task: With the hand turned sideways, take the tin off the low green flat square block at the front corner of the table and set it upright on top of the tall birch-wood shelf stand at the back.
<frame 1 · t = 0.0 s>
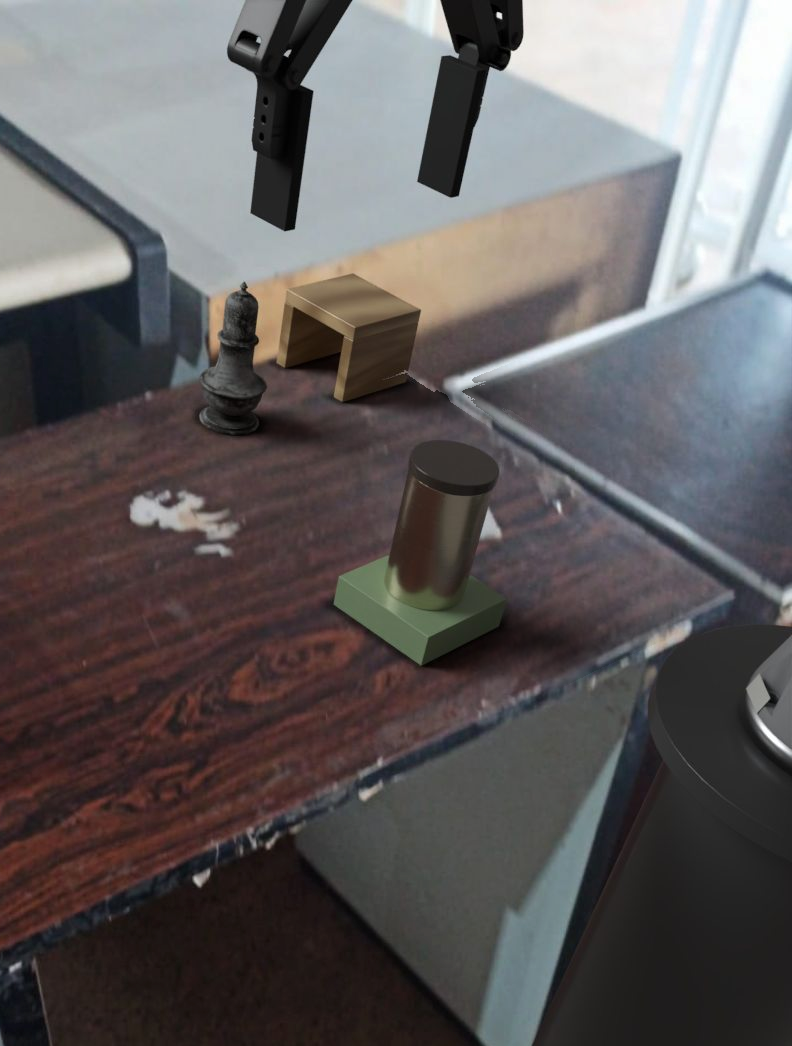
hand: (359, 205, 72), 29 cm above the table, tool pointing down, fingers open, 13 cm apart
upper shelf: (341, 372, 124), on the table
salt shaker: (228, 422, 114), on the table
green flat square block: (416, 615, 96), on the table
tin: (423, 587, 94), point 2 cm above the table, touching green flat square block
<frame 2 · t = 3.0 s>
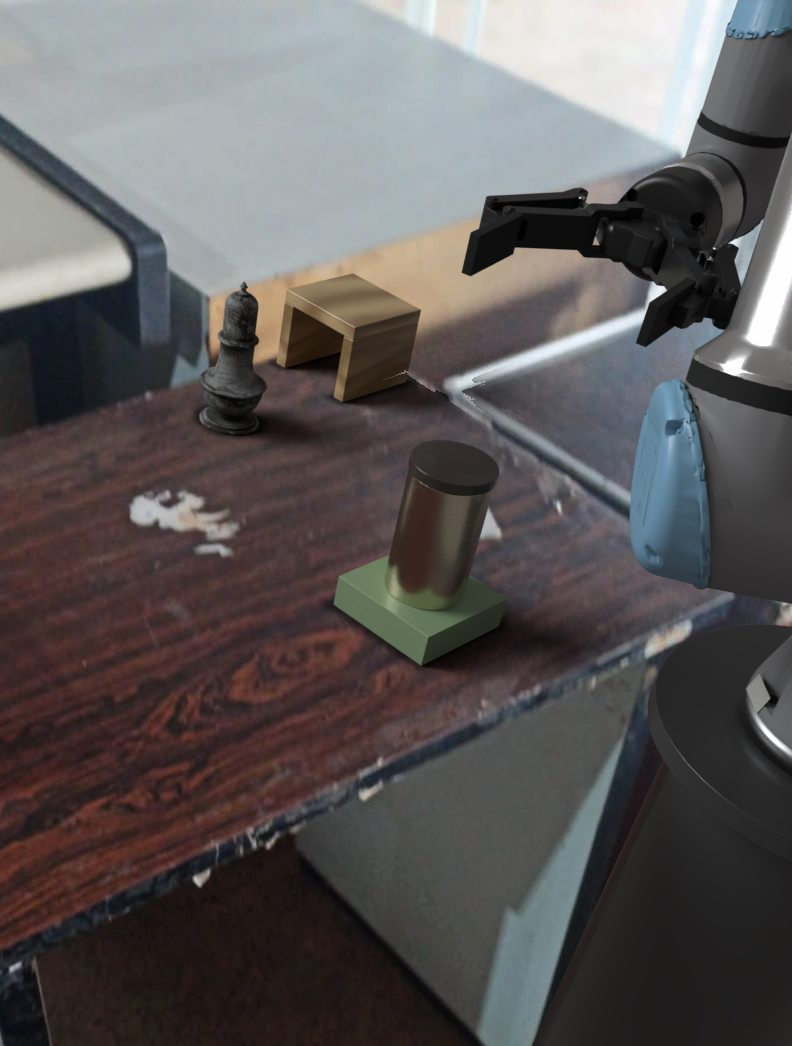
hand: (556, 289, 86), 22 cm above the table, tool horizontal, fingers open, 13 cm apart
nothing on the table moved.
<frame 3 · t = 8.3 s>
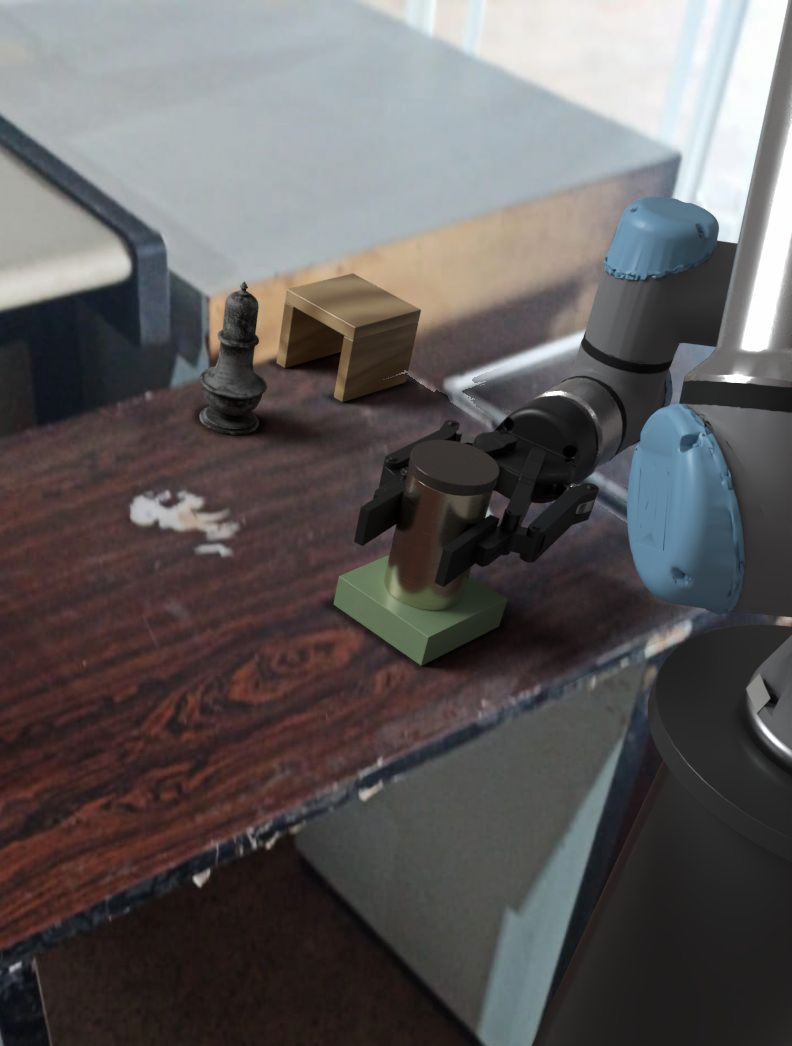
hand: (402, 546, 87), 8 cm above the table, tool horizontal, fingers closed on tin, 6 cm apart
tin: (423, 587, 94), point 3 cm above the table, touching gripper, green flat square block
everything else where it was.
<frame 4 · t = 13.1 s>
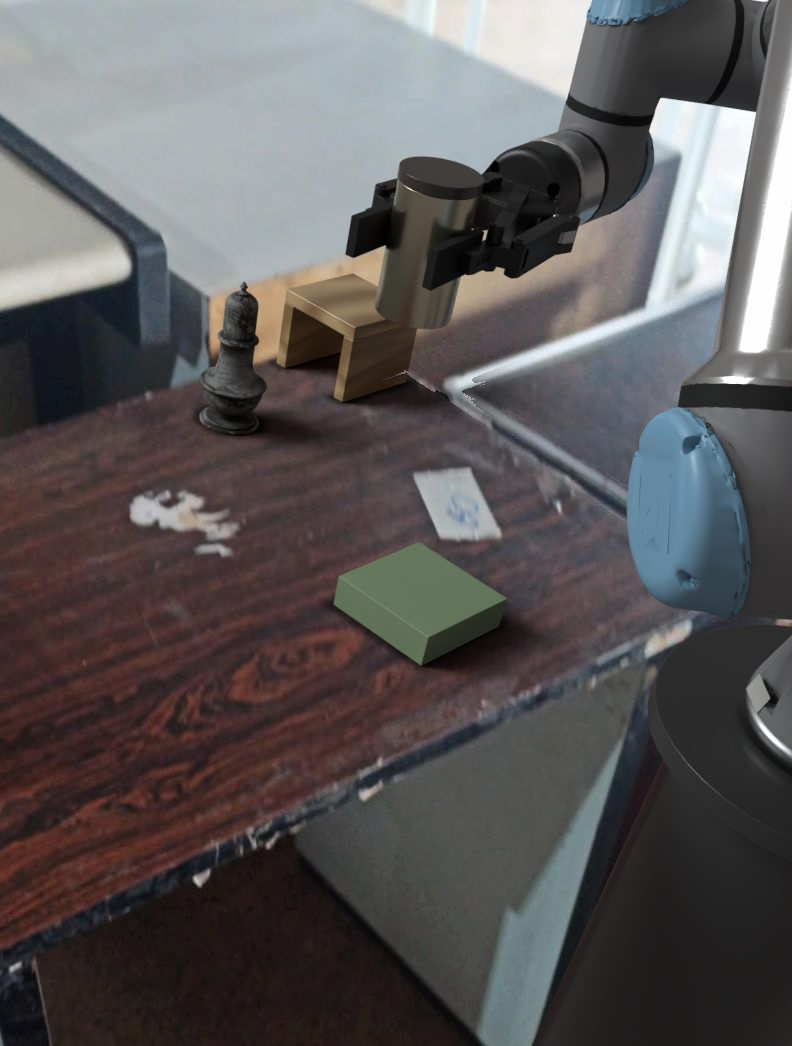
hand: (391, 252, 92), 20 cm above the table, tool horizontal, fingers closed on tin, 6 cm apart
tin: (412, 312, 99), point 15 cm above the table, touching gripper
everything else where it was.
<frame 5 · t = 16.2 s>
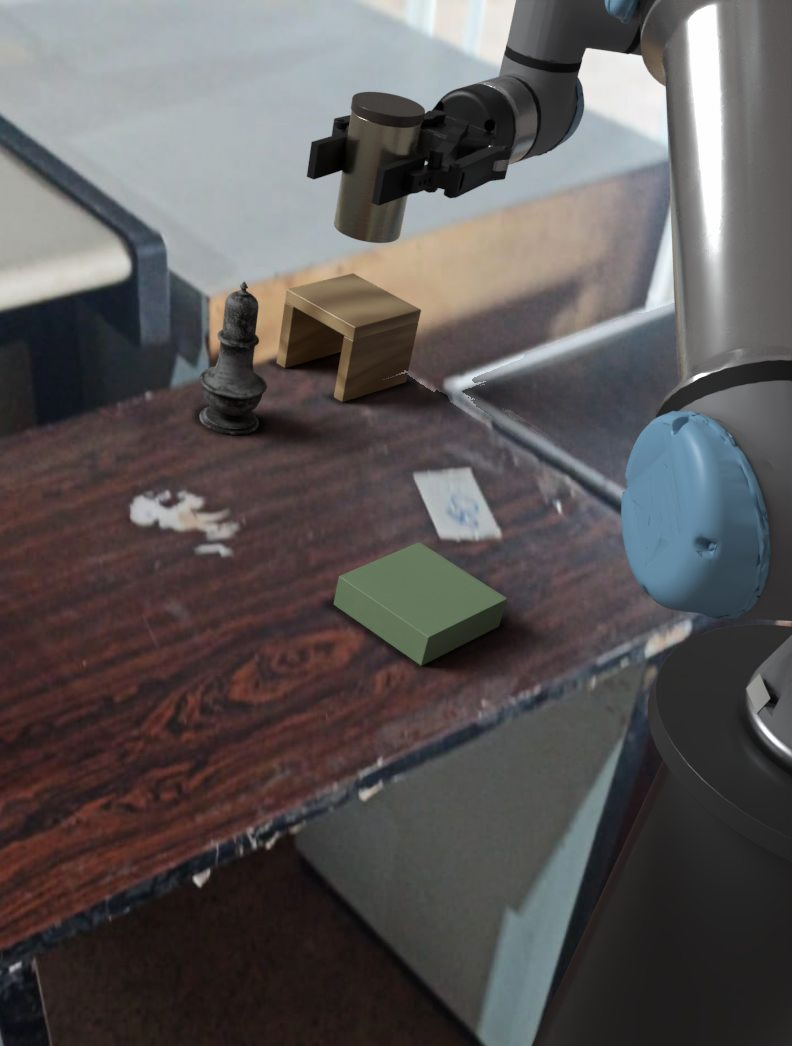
hand: (345, 173, 107), 19 cm above the table, tool horizontal, fingers closed on tin, 6 cm apart
tin: (366, 229, 114), point 13 cm above the table, touching gripper
everything else where it was.
when the fingers open (12 cm above the table, at t = 18.2 s): tin stays where it is, resting on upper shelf.
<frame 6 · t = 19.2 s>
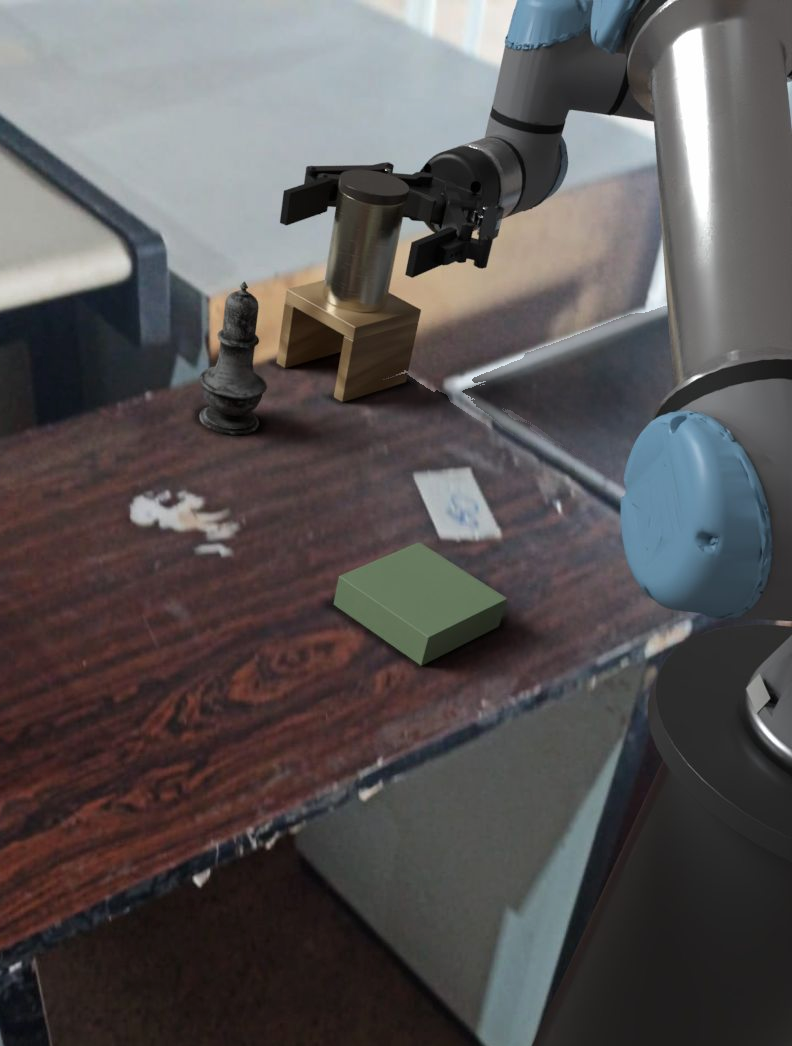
hand: (346, 233, 112), 13 cm above the table, tool horizontal, fingers open, 13 cm apart
tin: (354, 298, 119), point 7 cm above the table, touching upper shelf
everything else where it was.
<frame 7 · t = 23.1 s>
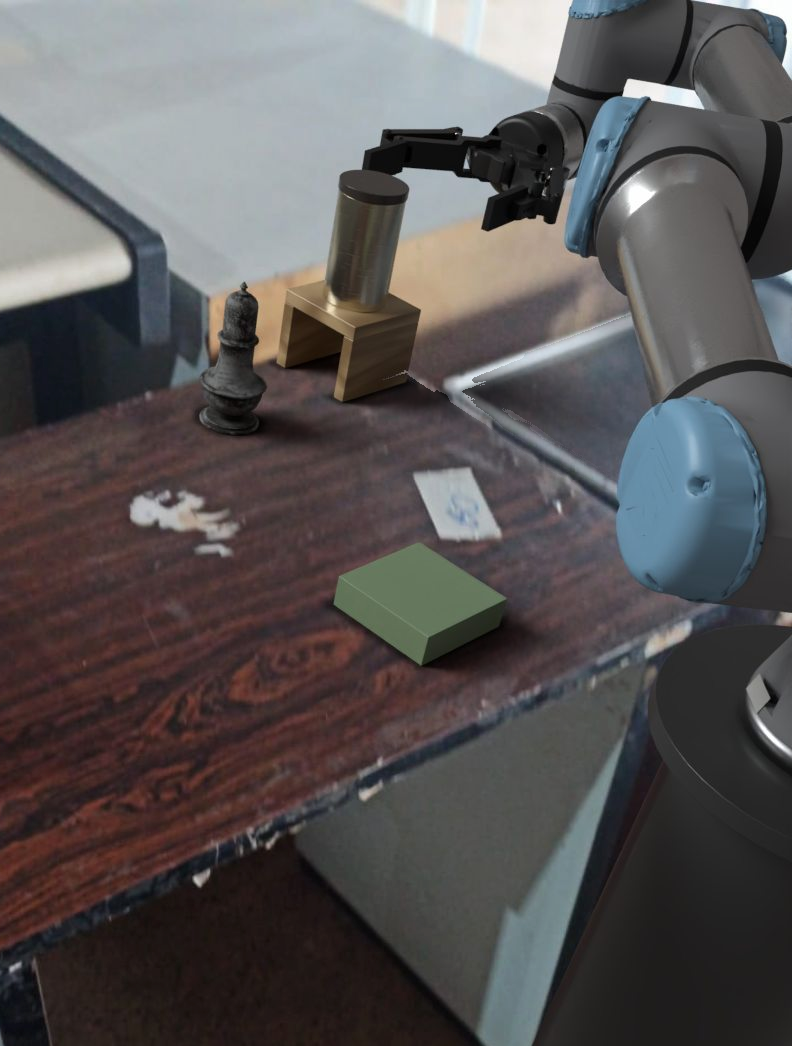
hand: (425, 190, 119), 15 cm above the table, tool horizontal, fingers open, 13 cm apart
nothing on the table moved.
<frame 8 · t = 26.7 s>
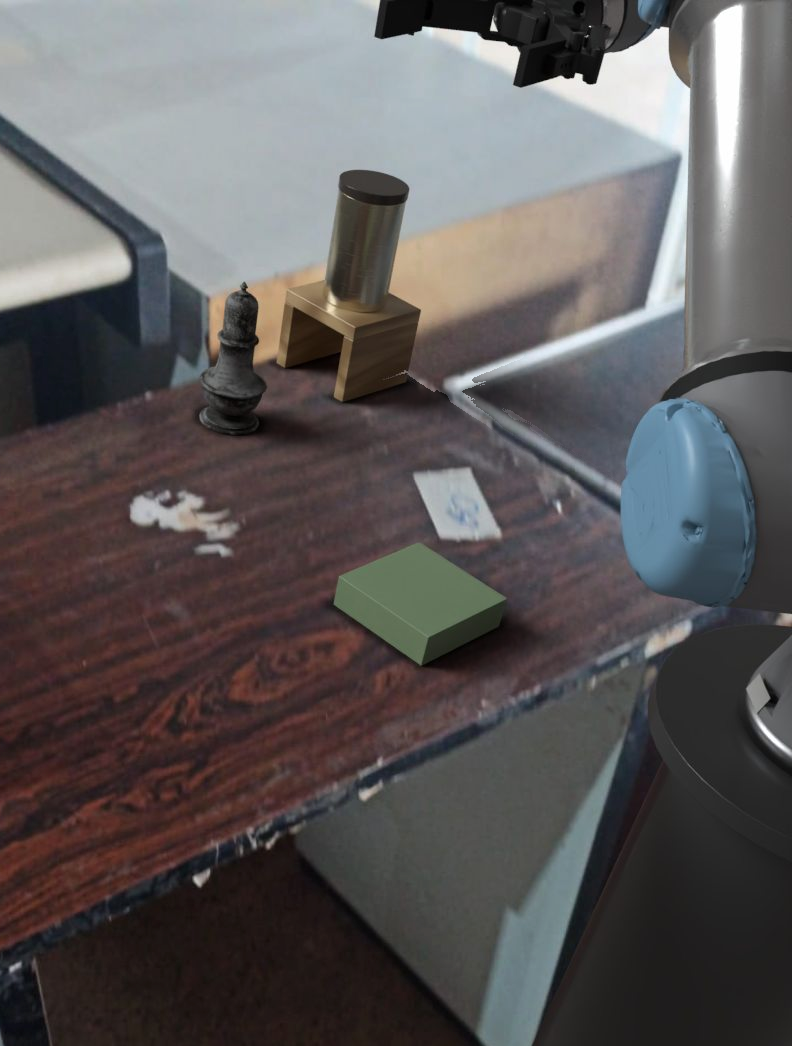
hand: (449, 42, 104), 28 cm above the table, tool horizontal, fingers open, 13 cm apart
nothing on the table moved.
at the end: tin inside the target area on the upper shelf (0.0 cm from its centre), point 7.0 cm above the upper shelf's base; tin tilted 0°; the gripper is holding nothing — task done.
